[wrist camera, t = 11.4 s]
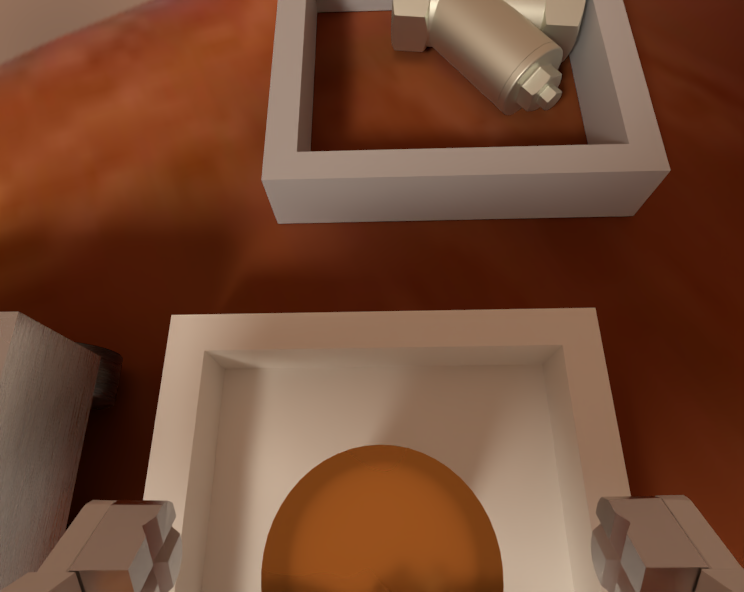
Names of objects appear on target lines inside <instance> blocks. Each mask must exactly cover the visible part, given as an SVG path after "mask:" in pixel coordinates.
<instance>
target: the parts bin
mask: <svg viewBox="0 0 744 592" xmlns="http://www.w3.org/2000/svg"><path fill="white" fill-rule="evenodd" d="M392 1H393V0H278V5H277V16H276V27H275V38H274V49H273V60H272V71H271V82H270V93H269V104H268V115H267V126H266V137H265V147H264V158H263V169H262V183H263V185H264V188H265V191H266V193H267V196H268V198H269V201H270V204H271V206H272V209H273V212H274V214H275V217H276V220H277V222H278V224H284V223H331V222H378V221H425V220H472V219H519V218H566V217H614V216H634V215H635V213H636V212H637V211H638V210H639V209H640V207H641V206H642V205H643V204H644V202H645V201H646V200H647V199H648V198H649V196H650V195H651V194H652V193H653V191H654V190H655V189H656V188H657V187H658V185H659V184H660V183H661V182H662V180H663V179H664V178H665V177H666V176H667V174H668V173H669V172H670V171H671V170H670V166H669V163H668V159H667V156H666V152H665V148H664V145H663V141H662V138H661V134H660V131H659V127H658V124H657V120H656V116H655V113H654V109H653V106H652V102H651V99H650V95H649V92H648V88H647V85H646V81H645V77H644V74H643V70H642V67H641V63H640V60H639V56H638V53H637V49H636V45H635V42H634V38H633V35H632V31H631V28H630V24H629V21H628V17H627V13H626V10H625V6H624V3H623V0H586V2H585V8H584V13H583V17H582V21H581V25H580V29H579V32H578V35H577V38H576V41H575V44H574V46H573V48H572V50H571V52H570V53H569V57H570V62H571V66H572V71H573V76H574V80H575V85H576V90H577V95H578V99H579V104H580V109H581V114H582V118H583V123H584V128H585V133H586V137H587V142H588V145H556V146H515V147H474V148H434V149H393V150H352V151H311V133H312V113H313V92H314V71H315V50H316V29H317V12H346V11H379V10H392Z"/></svg>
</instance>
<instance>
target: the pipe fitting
mask: <svg viewBox="0 0 744 592" xmlns="http://www.w3.org/2000/svg"><path fill="white" fill-rule="evenodd" d="M585 2H586V0H393V1H392V21H391V41H392V46H393V48H394V50H398V51H413V52H423V51H424V50H425V49H426V47H433V48H434V49H435V50H436V51H437V52H438V53H439V54H440V55H442V56H443V57H444V58H445V59H446V60H447V61H448V62H449V63H450V64H451V65H452V66H453V67H454V68H456V69H457V70H458V71H459V72H460V73H461V74H462V75H463V76H464V77H465V78H466V79H467V80H468V81H469V82H471V83H472V84H473V85H474V86H475V87H476V88H477V89H478V90H479V91H480V92H481V93H482V94H483V95H484V96H486V97H487V98H488V99H489V100H490V101H491V102H492V103H493V104H494V105H495V106H496V107H497V108H498V109H499V110H500V111H502V112H503V113H504V114H505V115H512V114H514V113H515V112H517V111H518V110H520V109H521V108H523V109H524V110H526V111H534V110H536V109H538V108H540V107H541V108H542V109H543V110H549V109H550V108H552V107H553V106H554V105H555V104H556V103H557V102H558V100H559V99H560V97H561V95H562V91H561V90H560V89H559V88H558V86H559V84H560V81H561V77H562V74H561V73H560V72H559V71H558V68H559V66H560V64H561V61H564V60H565V59H566V58H567V56H568V55H569V53H570V52H571V50H572V48H573V46H574V44H575V41H576V38H577V35H578V32H579V29H580V25H581V21H582V17H583V13H584V8H585Z"/></svg>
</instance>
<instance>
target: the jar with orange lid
mask: <svg viewBox="0 0 744 592" xmlns="http://www.w3.org/2000/svg"><path fill="white" fill-rule="evenodd" d="M503 589H504V583H503V566H502V559H501V552H500V548H499V545H498V541H497V537H496V534H495V531H494V529H493V526H492V524H491V521H490V519H489V517H488V515H487V513H486V511H485V510H484V508H483V506H482V504H481V502H480V501H479V500H478V498H477V497H476V495H475V494H474V493H473V491H472V490H471V489H470V488H469V487H468V485H467V484H466V483H465V482H464V481H463V480H462V479H461V478H460V477H459V476H458V475H457V474H455V473H454V472H453V471H452V470H451V469H450V468H448V467H447V466H445V465H444V464H442V463H441V462H439V461H438V460H436V459H434V458H432V457H430V456H428V455H426V454H424V453H422V452H419V451H416V450H413V449H410V448H405V447H400V446H395V445H368V446H362V447H357V448H352V449H349V450H346V451H344V452H341V453H338V454H336V455H334V456H332V457H330V458H328V459H326V460H324V461H323V462H321V463H320V464H319V465H317V466H316V467H314V468H313V469H311V470H310V471H309V472H308V473H307V474H306V475H305V476H304V477H303V478H302V479H300V481H299V482H298V483H297V484H296V485H295V486H294V488H293V489H292V490H291V491H290V492H289V494H288V495H287V497H286V498H285V500H284V501H283V503H282V504H281V506H280V508H279V510H278V512H277V514H276V516H275V518H274V520H273V522H272V525H271V528H270V530H269V533H268V536H267V540H266V544H265V548H264V552H263V560H262V568H261V592H503Z"/></svg>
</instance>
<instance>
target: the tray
mask: <svg viewBox="0 0 744 592" xmlns="http://www.w3.org/2000/svg"><path fill="white" fill-rule="evenodd" d="M368 445H395V446H400V447H405V448H410V449H413V450H416V451H419V452H422V453H424V454H426V455H428V456H430V457H432V458H434V459H436V460H438V461H439V462H441V463H442V464H444V465H445V466H447V467H448V468H450V469H451V470H452V471H453V472H454V473H455V474H457V475H458V476H459V477H460V478H461V479H462V480H463V481H464V482H465V483H466V484H467V485H468V487H469V488H470V489H471V490H472V491H473V493H474V494H475V495H476V497H477V498H478V500H479V501H480V502H481V504H482V506H483V508H484V510H485V511H486V513H487V515H488V517H489V519H490V521H491V524H492V526H493V529H494V531H495V534H496V537H497V541H498V545H499V548H500V552H501V559H502V566H503V583H504V589H503V592H608V591H607V590H606V589H605V588H604V587H602V586H601V584H600V582H599V579H598V577H597V575H596V572H595V569H594V565H593V562H592V554H591V538H592V531H593V530H594V529H595V528H596V527H597V526H598V525H599V524H600V521H599V519H598V517H597V515H596V509H597V503H598V501H599V500H600V498H601V497H615V496H631V494H630V488H629V483H628V478H627V472H626V467H625V462H624V457H623V451H622V446H621V441H620V435H619V430H618V425H617V420H616V414H615V409H614V404H613V398H612V393H611V388H610V383H609V377H608V372H607V367H606V361H605V356H604V351H603V346H602V340H601V335H600V330H599V324H598V319H597V314H596V308H547V309H488V310H430V311H372V312H314V313H255V314H197V315H171V321H170V328H169V334H168V341H167V347H166V354H165V360H164V367H163V373H162V380H161V386H160V393H159V399H158V406H157V412H156V419H155V425H154V432H153V438H152V445H151V451H150V458H149V464H148V471H147V477H146V484H145V490H144V497H143V500H160V501H170V502H172V503H173V505H174V509H175V513H176V518H175V520H174V522H173V524H172V527H173V528H174V529H175V530H177V531H178V532H179V533H180V535H181V540H182V561H181V566H180V571H179V574H178V577H177V580H176V582H175V585H174V587H173V588H172V589H171V590H170V591H168V592H261V568H262V560H263V552H264V548H265V544H266V540H267V536H268V533H269V530H270V528H271V525H272V522H273V520H274V518H275V516H276V514H277V512H278V510H279V508H280V506H281V504H282V503H283V501H284V500H285V498H286V497H287V495H288V494H289V492H290V491H291V490H292V489H293V488H294V486H295V485H296V484H297V483H298V482H299V481H300V479H302V478H303V477H304V476H305V475H306V474H307V473H308V472H309V471H310V470H311V469H313V468H314V467H316V466H317V465H319V464H320V463H321V462H323V461H324V460H326V459H328V458H330V457H332V456H334V455H336V454H338V453H341V452H344V451H346V450H349V449H352V448H357V447H362V446H368Z"/></svg>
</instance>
